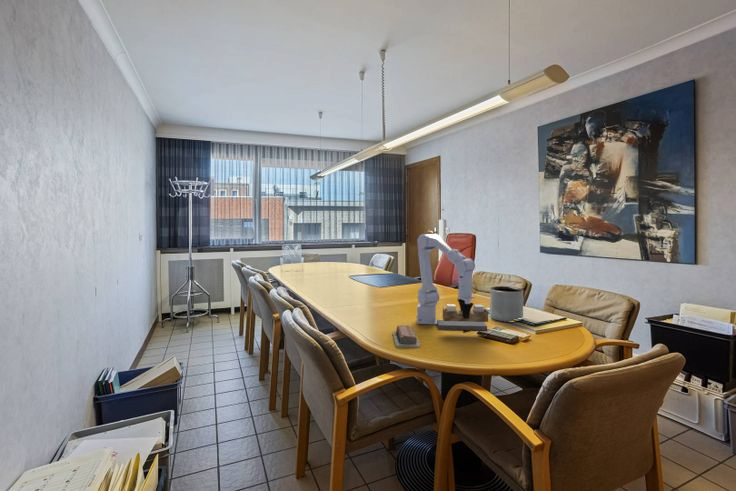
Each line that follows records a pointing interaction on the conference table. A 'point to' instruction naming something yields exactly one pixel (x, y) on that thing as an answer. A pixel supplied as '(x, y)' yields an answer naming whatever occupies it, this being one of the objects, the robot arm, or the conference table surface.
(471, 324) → the dock
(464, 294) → the robot arm
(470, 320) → the brown grey lumpy bar
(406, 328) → the packaged product
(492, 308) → the planter
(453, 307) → the crate cream
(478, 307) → the crate greyblue
